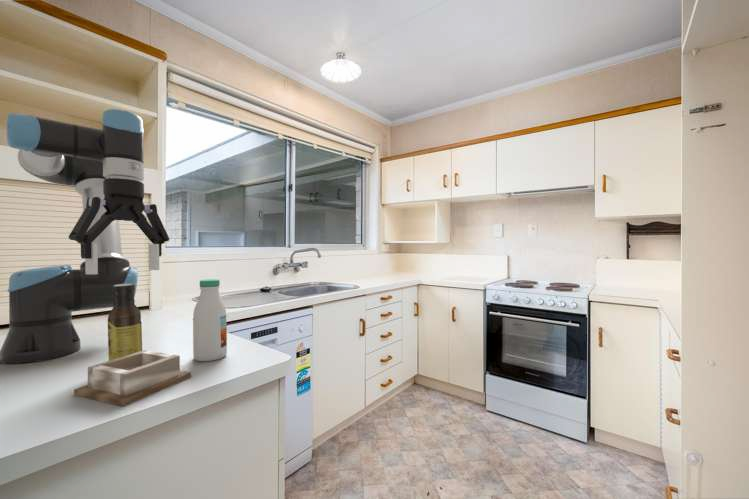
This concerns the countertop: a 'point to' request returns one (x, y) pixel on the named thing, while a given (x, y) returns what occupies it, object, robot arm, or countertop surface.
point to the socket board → (132, 377)
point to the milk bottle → (209, 323)
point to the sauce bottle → (124, 323)
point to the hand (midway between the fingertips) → (125, 272)
